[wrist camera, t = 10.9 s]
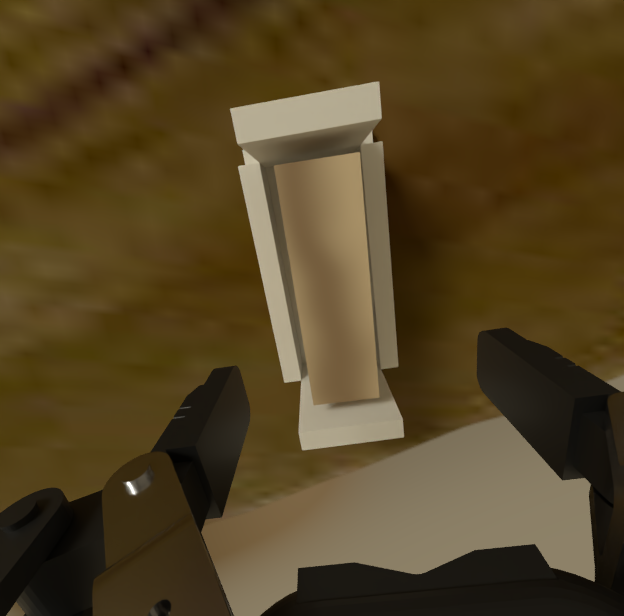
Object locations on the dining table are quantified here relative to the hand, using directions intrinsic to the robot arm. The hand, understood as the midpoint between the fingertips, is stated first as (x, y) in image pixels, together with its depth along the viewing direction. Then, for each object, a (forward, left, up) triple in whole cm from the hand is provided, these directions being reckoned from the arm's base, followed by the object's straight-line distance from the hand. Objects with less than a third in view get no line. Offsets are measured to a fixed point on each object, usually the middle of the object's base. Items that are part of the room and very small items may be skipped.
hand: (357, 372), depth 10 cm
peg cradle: (0, 0, -18) cm, 18 cm away
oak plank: (0, 0, -13) cm, 13 cm away
